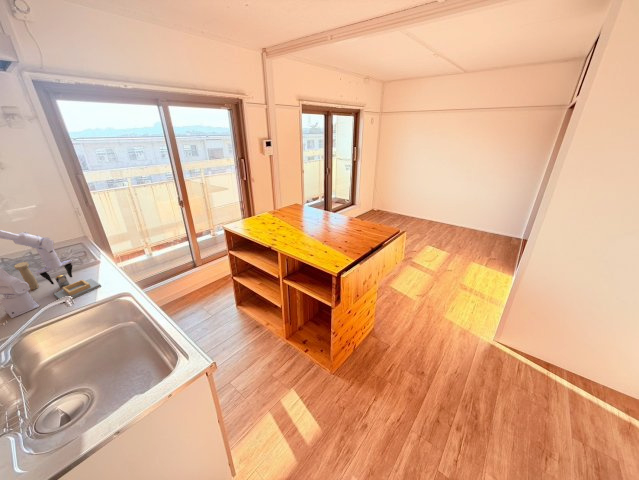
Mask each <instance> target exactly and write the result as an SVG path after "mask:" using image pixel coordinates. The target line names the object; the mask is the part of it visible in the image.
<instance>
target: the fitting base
mask: <svg viewBox="0 0 639 480" xmlns="http://www.w3.org/2000/svg"><path fill="white" fill-rule="evenodd" d="M69 284H70V285H68V286H65V287H63V288H62V289H61V290H58V291H56V292H54V293H53V295H54V296H55V297H56V298H57V299H59V298H62V297H65V296H71V297H73V299H76V298H78V297H80V296H82V295H84V294H86V293H89V292H91V291H94V290H96V289H98V288H101V287H102V285H101V284H100V283H99V282H97V281H96V280H95V279H92V278H89V279H88V278H87V279H86V280H84V279H81V280H77V281H75V282H72V283H69ZM100 286H101V287H100Z"/></svg>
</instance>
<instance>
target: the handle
mask: <svg viewBox="0 0 639 480" xmlns="http://www.w3.org/2000/svg"><path fill="white" fill-rule="evenodd" d="M29 266H30V264H29V263H28V262H27V261H22V262H18V263H16V264H15V265H13V267H14V269H15V270H18V271H19V273H20V275H21V277H22V279H23V281H25V282H27V283H28V284H29V290H33V291H34V290H36V289H39V287H40V286H39V284H38V283H39V282H38V281H37V279H36V277H35V276H34V274H33V273H32V271H31V270H30V269H29Z"/></svg>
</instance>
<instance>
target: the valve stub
mask: <svg viewBox="0 0 639 480" xmlns="http://www.w3.org/2000/svg"><path fill="white" fill-rule="evenodd" d="M54 279H55V281H56V283H57V285H58V287H59V288H60V289H63V287H65V286H68V285H70V284H71V283H70V282H69V280H68V279H67V276H66V275H65V274H59V275H57V276H56V277H54Z"/></svg>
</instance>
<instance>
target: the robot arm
mask: <svg viewBox="0 0 639 480" xmlns="http://www.w3.org/2000/svg"><path fill="white" fill-rule="evenodd" d="M0 239H1V240H2V239H4V240H9V241H12V242H13V243H14V244H16V245H20V246H25V247H30V248H32V249H35V250H36V251H37V253H38V255H39V257H40V258H41V260H42V262H43V264H44V267H42V268H41V269H39V270H36V271H34V274H35V275H36V276H41V277H42V278H44V279H46V280H47V281H48V282H49V283H50V284H51V285H55V283H54V281H53V279H52V278H51V276H50V274H49V272H52V271H55V270H56V269H60V268H63V267H64V269H65V270H66V272H67V274H68V277H70V278H73V273H72V272H73V264H74V261H73V260H72V259H68V260H64V261H61V260H60V258H59V257H58V254H57V252H56V251H55V248H54V240H52V239H51V238H50V237H41V235H39V234H36V235H34V234H30V233H29V232H26V231H23V232H18V233H14V232H10V231H5V230H3V229H0ZM29 290H30V287H29V284H28V283H27V282H25V281H24V280H21V279H19V278H18V277H15V276H13V275H10V274H9V273H8V272H7V271H5V270H4V268H2V267H1V266H0V295H2V296H3V298H1V299H0V305H1V306H2V308H4V312H5V314H8V316H9V317H10V319H11V318H12V319H13V318H17V317H18V316H20V315H23V314H26V313H28V312H30V311H32V310H35V309H37V308H40V304H38V303H37V302H36V301H35V300H34V299H33V296H31V293H30V291H29Z"/></svg>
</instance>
